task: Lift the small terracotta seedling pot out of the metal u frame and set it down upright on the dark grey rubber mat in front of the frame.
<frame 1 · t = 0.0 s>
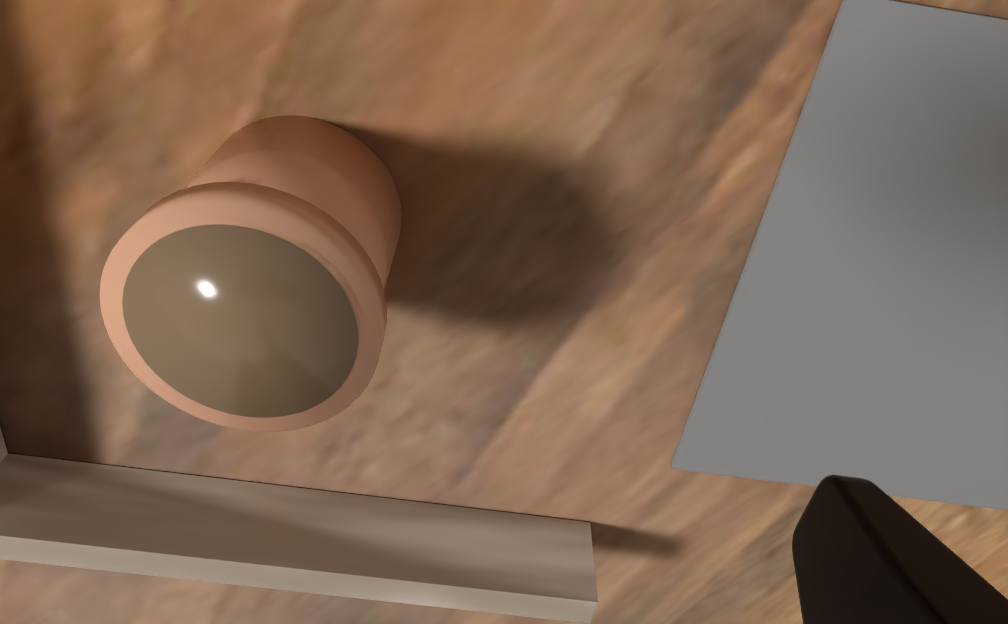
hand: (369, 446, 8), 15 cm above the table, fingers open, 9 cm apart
metal u frame: (304, 210, 22), on the table
seedling pot: (304, 209, 22), on the table
grey mat: (964, 304, 24), on the table
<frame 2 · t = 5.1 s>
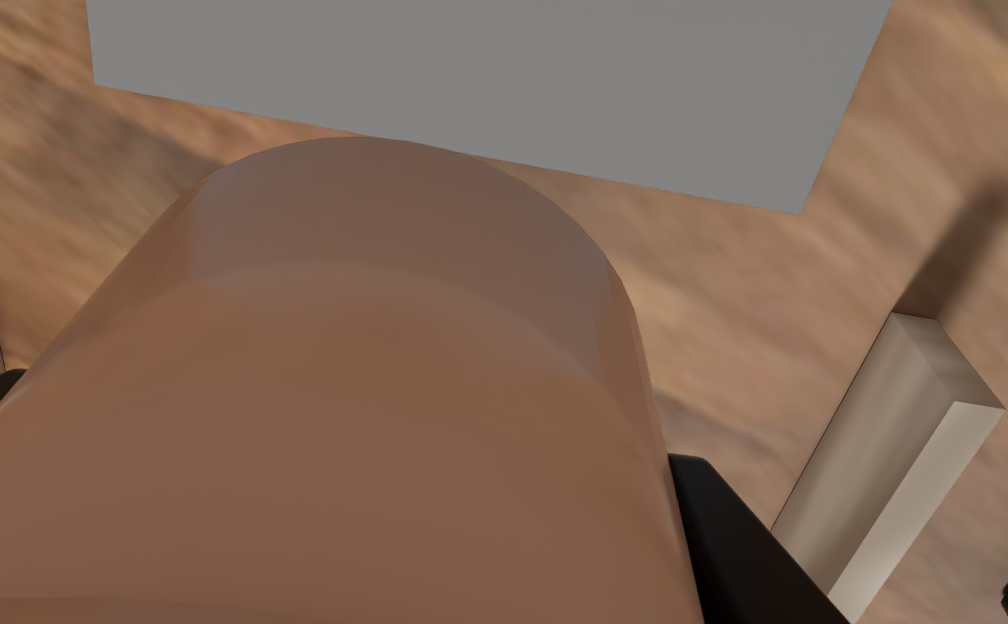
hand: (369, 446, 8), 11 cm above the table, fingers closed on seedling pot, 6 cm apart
metal u frame: (398, 531, 25), on the table
seedling pot: (384, 383, 8), point 10 cm above the table, touching gripper
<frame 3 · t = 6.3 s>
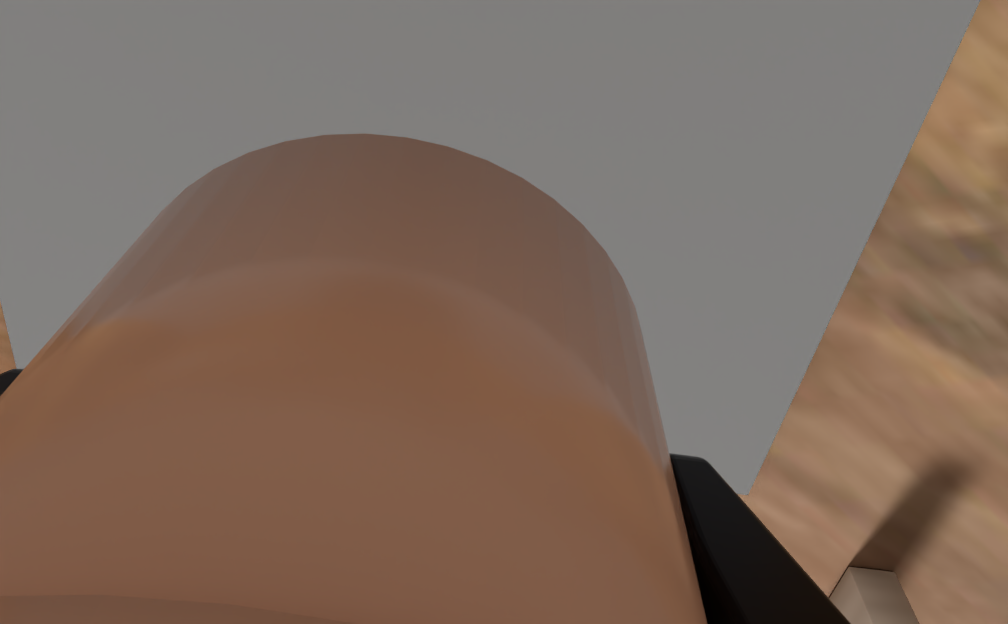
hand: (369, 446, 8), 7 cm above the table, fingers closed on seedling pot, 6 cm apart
seedling pot: (384, 382, 8), point 6 cm above the table, touching gripper
grey mat: (432, 152, 14), on the table
when the fingers open (3 cm above the table, at t = 7.9 s): seedling pot drops 2 cm, resting on grey mat.
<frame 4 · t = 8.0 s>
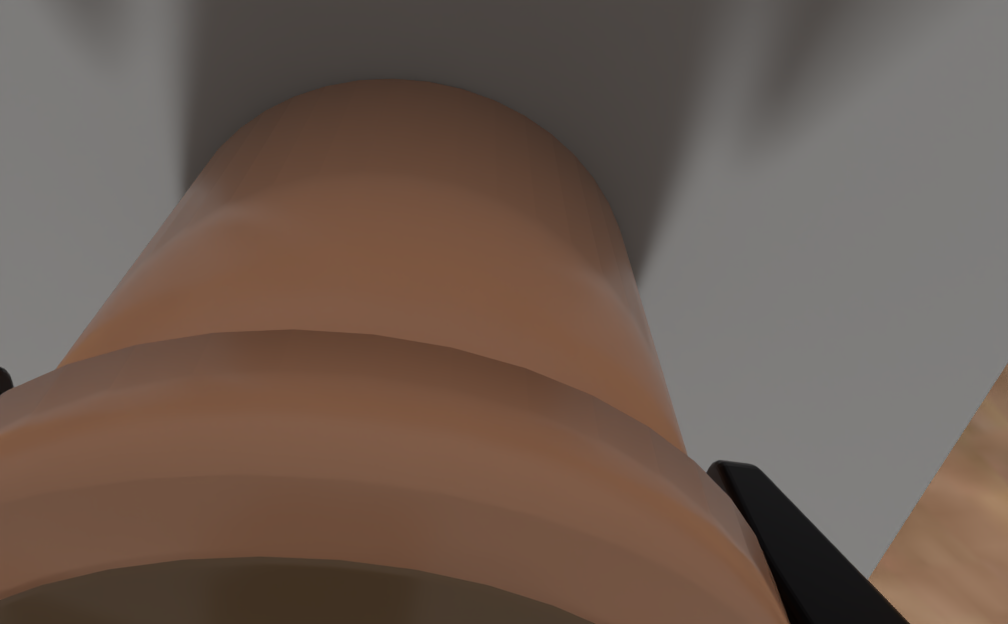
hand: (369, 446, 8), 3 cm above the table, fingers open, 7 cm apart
seedling pot: (405, 300, 10), resting on grey mat
grey mat: (405, 283, 10), on the table
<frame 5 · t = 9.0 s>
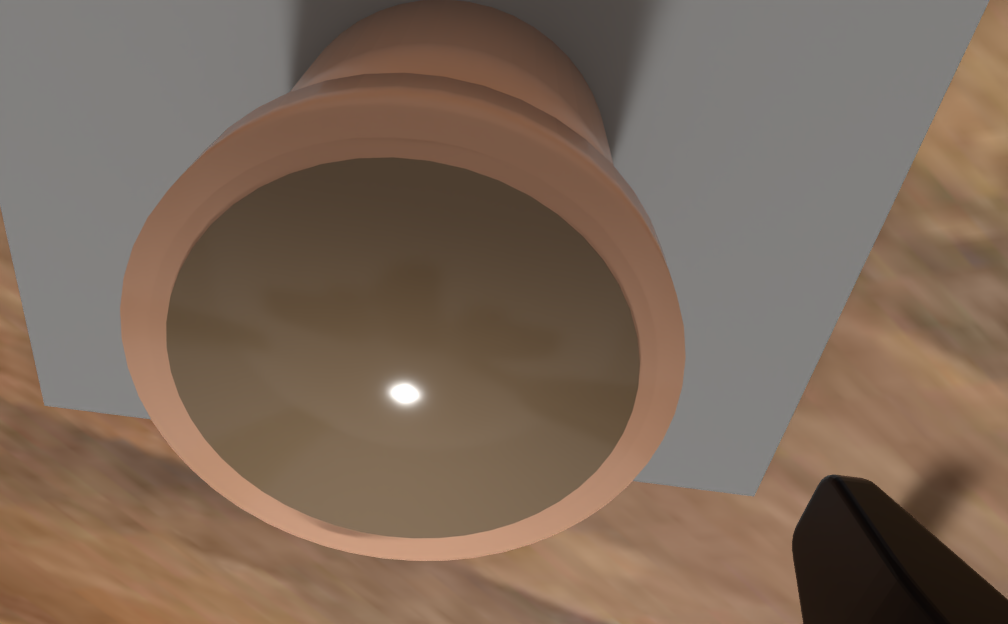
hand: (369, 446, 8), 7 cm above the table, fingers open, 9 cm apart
seedling pot: (447, 167, 14), resting on grey mat
grey mat: (446, 159, 14), on the table
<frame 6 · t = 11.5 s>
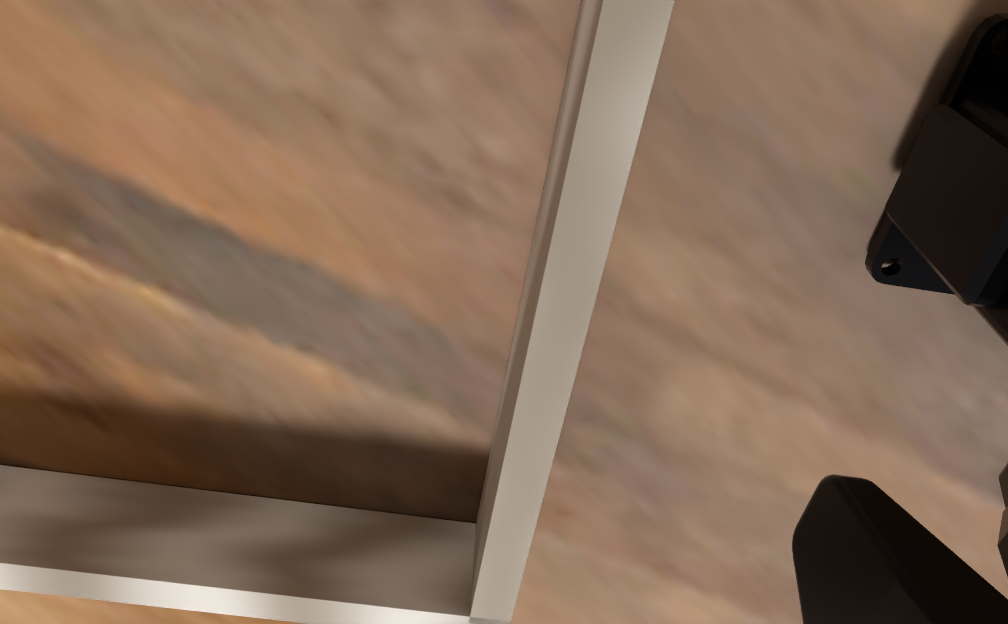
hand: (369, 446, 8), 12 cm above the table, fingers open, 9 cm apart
metal u frame: (74, 178, 19), on the table
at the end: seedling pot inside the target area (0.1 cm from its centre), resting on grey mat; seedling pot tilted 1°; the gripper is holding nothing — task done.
